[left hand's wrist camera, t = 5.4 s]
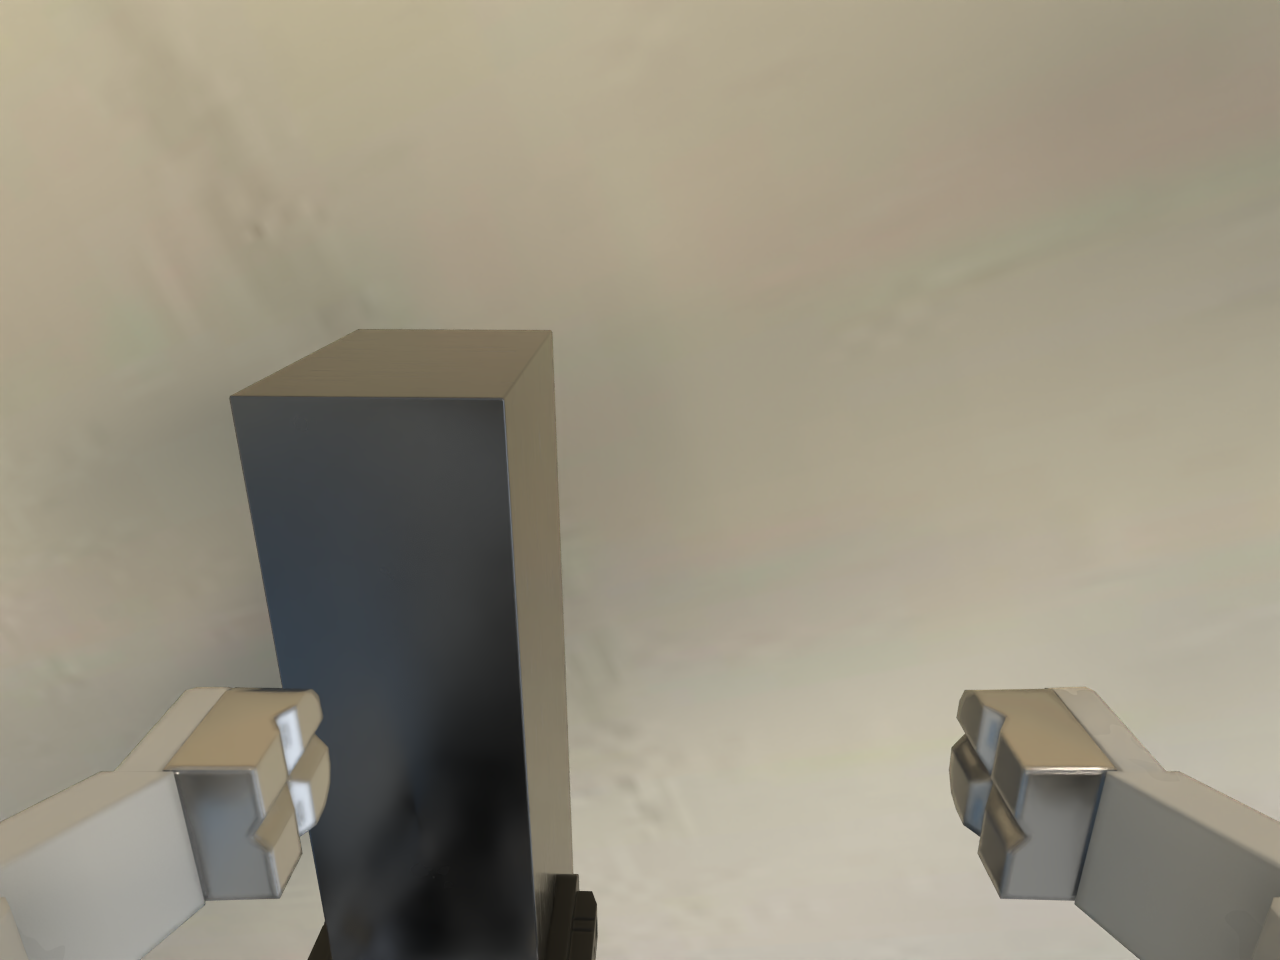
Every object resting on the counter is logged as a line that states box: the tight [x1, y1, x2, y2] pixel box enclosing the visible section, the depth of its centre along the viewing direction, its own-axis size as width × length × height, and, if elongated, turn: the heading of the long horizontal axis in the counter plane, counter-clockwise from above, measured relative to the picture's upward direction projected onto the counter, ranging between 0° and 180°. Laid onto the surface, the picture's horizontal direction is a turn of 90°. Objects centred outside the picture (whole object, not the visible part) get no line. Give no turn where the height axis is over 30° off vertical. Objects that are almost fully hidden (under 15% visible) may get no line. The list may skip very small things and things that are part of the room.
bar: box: [230, 329, 573, 960], centre depth 25 cm, size 22×6×8 cm, turn 0°
